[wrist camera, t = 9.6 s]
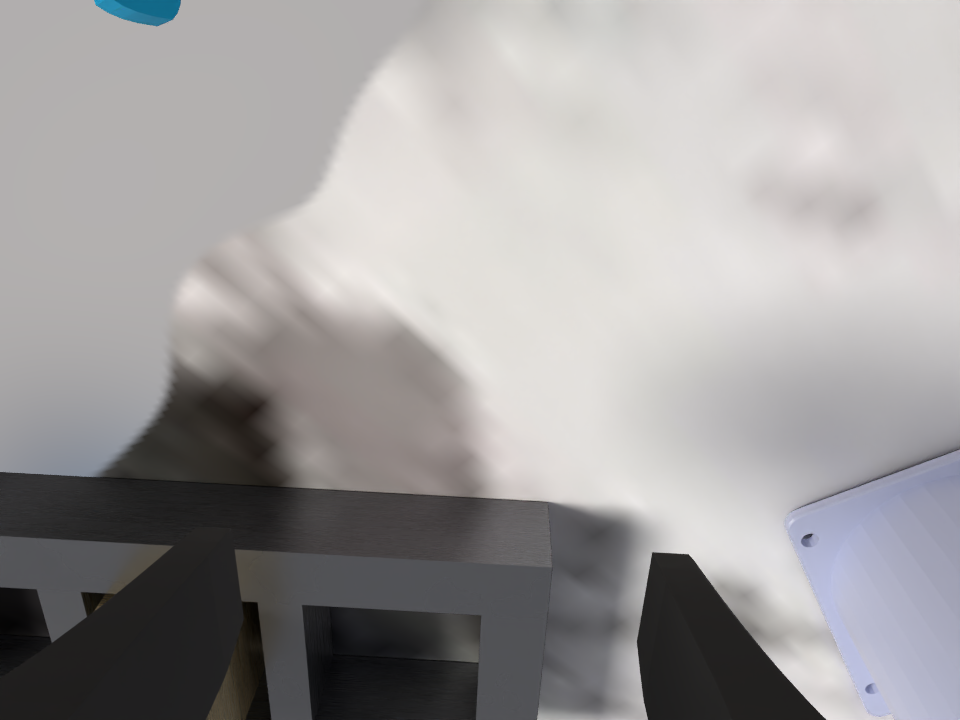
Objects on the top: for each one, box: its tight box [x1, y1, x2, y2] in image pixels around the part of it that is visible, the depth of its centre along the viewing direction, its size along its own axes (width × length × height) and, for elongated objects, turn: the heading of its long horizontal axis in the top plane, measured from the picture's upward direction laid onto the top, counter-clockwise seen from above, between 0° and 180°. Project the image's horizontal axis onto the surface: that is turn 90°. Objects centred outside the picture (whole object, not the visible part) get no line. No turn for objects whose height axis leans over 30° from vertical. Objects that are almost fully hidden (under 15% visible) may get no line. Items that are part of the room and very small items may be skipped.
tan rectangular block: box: [94, 593, 265, 720], centre depth 22 cm, size 4×4×7 cm
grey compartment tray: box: [0, 472, 552, 720], centre depth 24 cm, size 22×9×3 cm, turn 88°
